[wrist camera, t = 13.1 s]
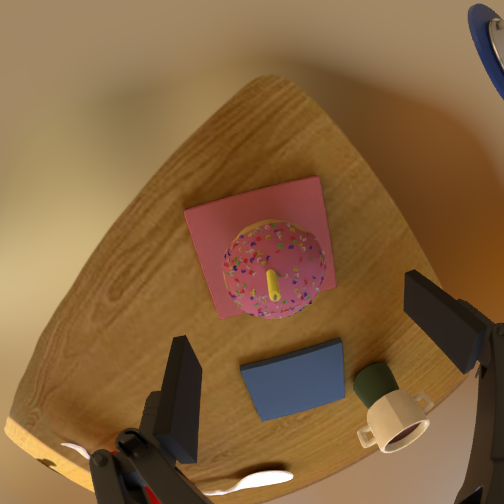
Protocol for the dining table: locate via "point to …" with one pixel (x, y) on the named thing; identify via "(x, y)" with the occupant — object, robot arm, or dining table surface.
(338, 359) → the blue mat
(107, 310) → the dining table surface
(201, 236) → the rose mat
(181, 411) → the robot arm
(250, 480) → the spoon
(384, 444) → the character mug
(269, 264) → the cupcake
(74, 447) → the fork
